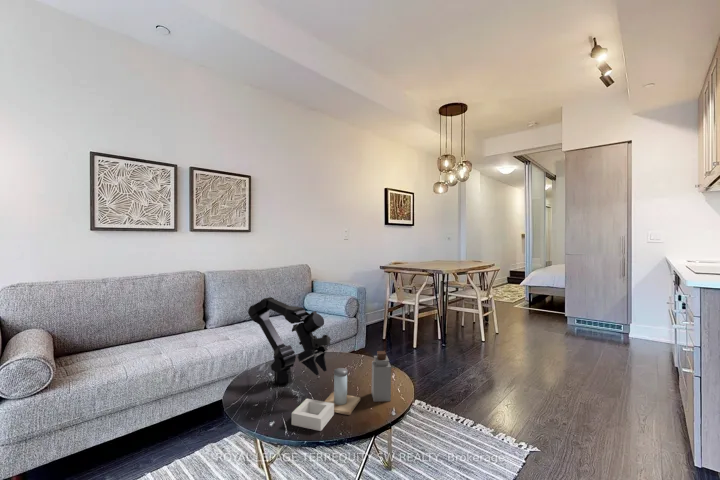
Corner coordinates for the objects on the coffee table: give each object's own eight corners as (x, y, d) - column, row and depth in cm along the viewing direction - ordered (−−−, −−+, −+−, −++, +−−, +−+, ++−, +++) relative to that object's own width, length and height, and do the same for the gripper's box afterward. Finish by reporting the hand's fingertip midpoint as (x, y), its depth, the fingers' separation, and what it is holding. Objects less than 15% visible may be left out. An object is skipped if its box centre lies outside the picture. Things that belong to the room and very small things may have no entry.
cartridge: (333, 405, 128) (334, 373, 128) (333, 398, 133) (333, 368, 133) (347, 404, 128) (347, 373, 128) (346, 398, 134) (347, 367, 133)
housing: (291, 424, 117) (291, 413, 116) (306, 409, 127) (306, 398, 127) (320, 431, 113) (320, 419, 113) (333, 414, 123) (334, 403, 123)
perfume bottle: (371, 393, 140) (372, 349, 140) (387, 392, 141) (388, 349, 140) (373, 401, 133) (374, 355, 133) (390, 401, 134) (391, 355, 133)
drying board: (319, 409, 127) (319, 406, 127) (332, 394, 138) (332, 392, 138) (349, 415, 123) (349, 412, 123) (360, 399, 134) (360, 397, 134)
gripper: (314, 328, 131) (332, 367, 127) (329, 326, 149) (345, 360, 144) (290, 341, 132) (306, 380, 128) (308, 338, 150) (323, 372, 145)
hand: (321, 372), depth 136 cm, fingers open, 9 cm apart
